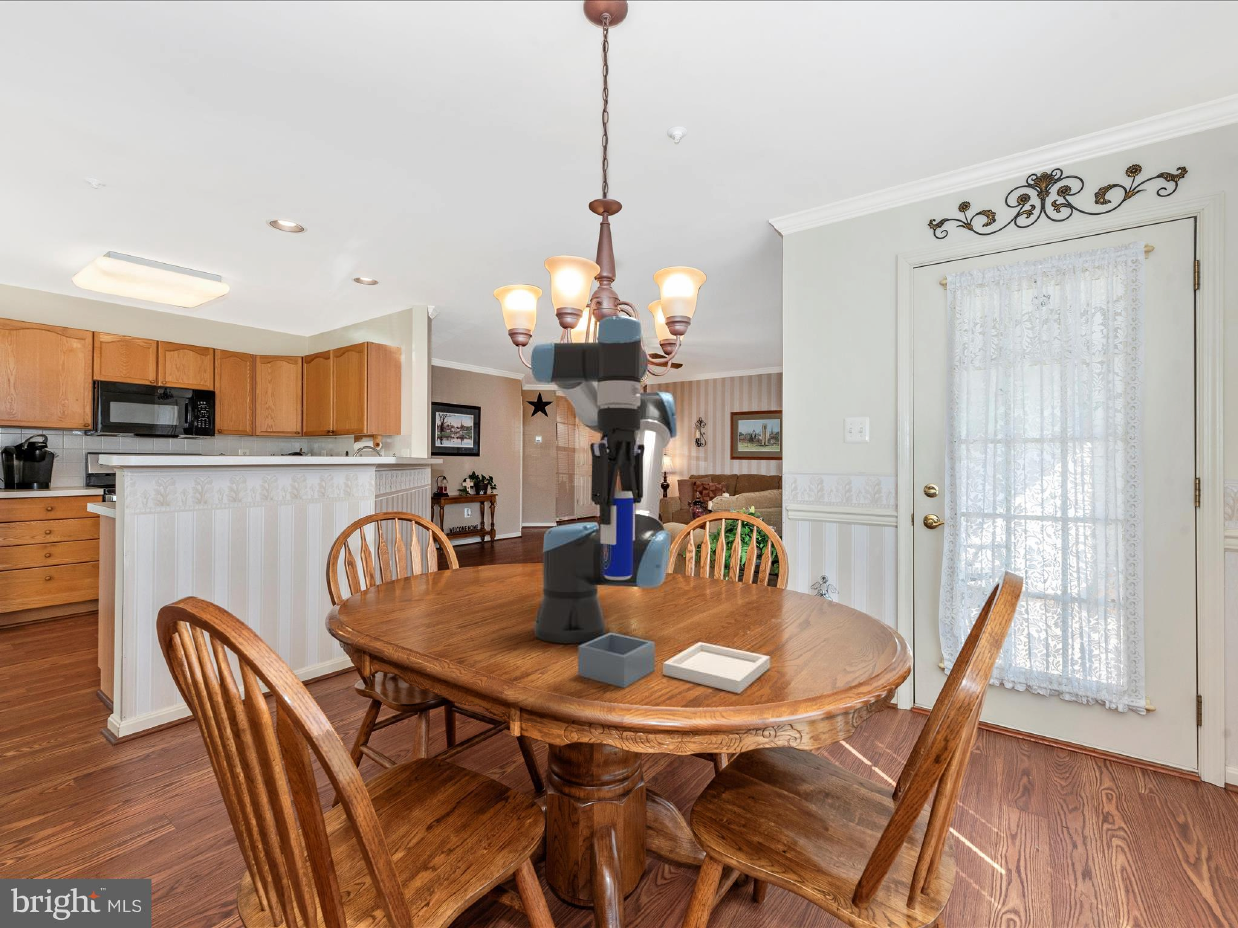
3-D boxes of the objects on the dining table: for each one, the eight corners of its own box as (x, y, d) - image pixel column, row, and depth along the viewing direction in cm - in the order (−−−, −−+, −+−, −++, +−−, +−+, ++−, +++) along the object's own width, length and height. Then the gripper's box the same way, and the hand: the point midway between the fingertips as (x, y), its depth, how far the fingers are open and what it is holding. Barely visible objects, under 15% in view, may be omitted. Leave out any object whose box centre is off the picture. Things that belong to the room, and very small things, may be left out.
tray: (663, 674, 100) (663, 662, 100) (699, 652, 111) (699, 641, 111) (739, 693, 92) (739, 680, 92) (769, 667, 103) (769, 656, 103)
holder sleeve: (577, 675, 99) (578, 646, 99) (610, 659, 107) (610, 632, 107) (624, 687, 94) (624, 657, 94) (654, 670, 101) (654, 642, 101)
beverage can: (602, 574, 103) (602, 490, 102) (630, 574, 103) (631, 490, 103) (603, 580, 97) (604, 492, 97) (634, 580, 98) (634, 492, 98)
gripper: (606, 402, 90) (605, 550, 91) (663, 410, 105) (662, 537, 106) (569, 405, 94) (568, 546, 95) (629, 412, 110) (628, 534, 110)
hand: (618, 541), depth 100 cm, fingers closed on beverage can, 5 cm apart
